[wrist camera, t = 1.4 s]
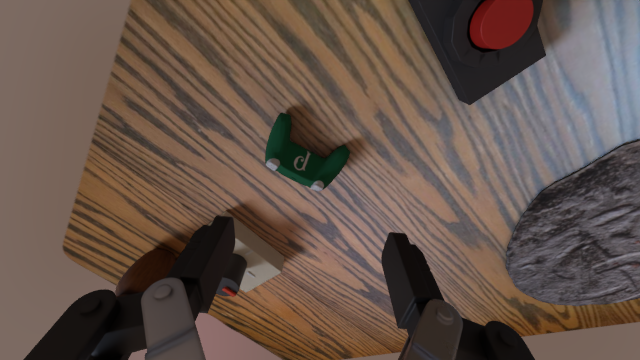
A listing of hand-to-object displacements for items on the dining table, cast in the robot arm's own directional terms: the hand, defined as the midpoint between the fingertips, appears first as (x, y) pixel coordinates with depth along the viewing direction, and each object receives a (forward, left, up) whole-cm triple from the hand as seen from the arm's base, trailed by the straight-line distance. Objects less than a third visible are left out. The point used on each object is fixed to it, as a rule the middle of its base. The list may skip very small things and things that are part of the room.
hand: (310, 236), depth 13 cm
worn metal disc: (+41, +25, -18) cm, 51 cm away
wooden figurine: (+1, -34, -18) cm, 38 cm away
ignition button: (+1, +17, -14) cm, 22 cm away
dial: (+7, -22, -15) cm, 27 cm away
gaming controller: (+1, -3, -18) cm, 18 cm away
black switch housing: (+1, +17, -18) cm, 25 cm away
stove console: (+7, -22, -18) cm, 29 cm away
